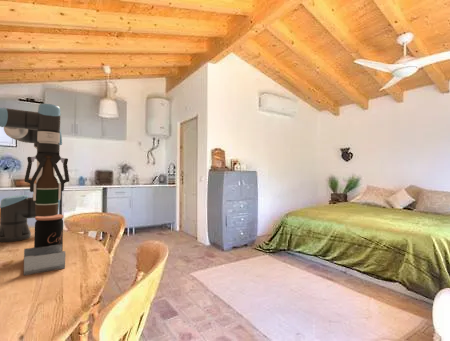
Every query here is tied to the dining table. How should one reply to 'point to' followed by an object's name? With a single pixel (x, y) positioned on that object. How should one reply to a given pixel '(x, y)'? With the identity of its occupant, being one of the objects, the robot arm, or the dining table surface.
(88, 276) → the dining table surface
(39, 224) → the coffee jar
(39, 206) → the beer bottle
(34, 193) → the robot arm
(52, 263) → the bracket
